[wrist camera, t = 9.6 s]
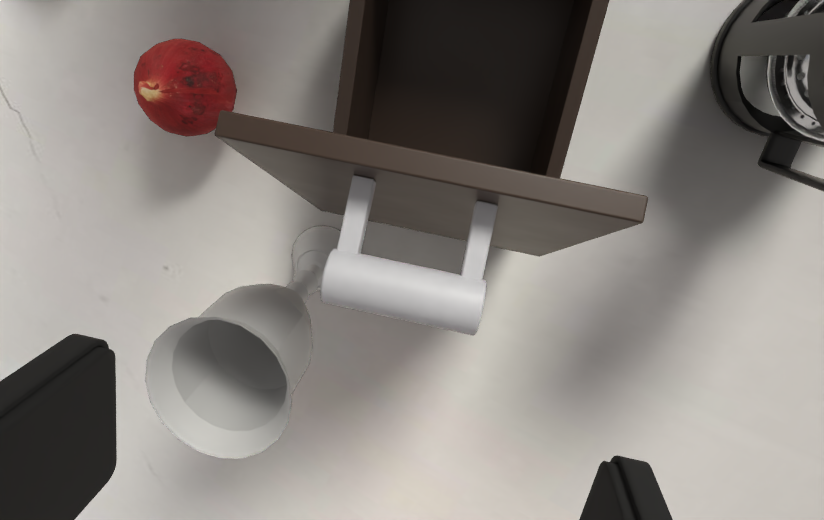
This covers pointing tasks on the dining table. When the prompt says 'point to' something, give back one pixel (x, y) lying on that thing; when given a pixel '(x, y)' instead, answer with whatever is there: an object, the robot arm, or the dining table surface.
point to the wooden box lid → (424, 214)
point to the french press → (776, 79)
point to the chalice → (240, 360)
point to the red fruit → (184, 86)
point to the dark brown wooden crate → (469, 77)
